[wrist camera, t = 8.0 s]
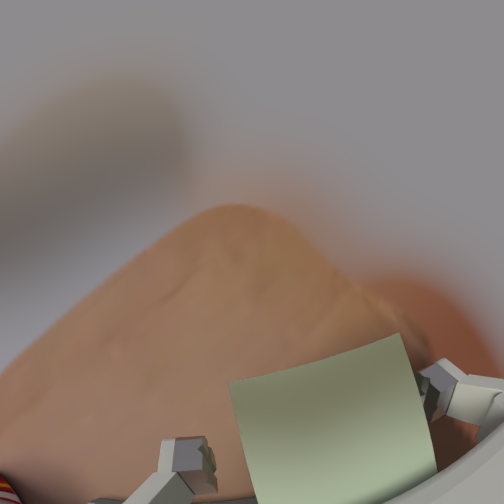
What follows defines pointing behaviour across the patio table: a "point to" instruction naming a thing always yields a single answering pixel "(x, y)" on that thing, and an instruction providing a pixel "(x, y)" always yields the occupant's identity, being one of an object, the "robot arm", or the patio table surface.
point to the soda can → (7, 493)
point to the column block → (336, 429)
